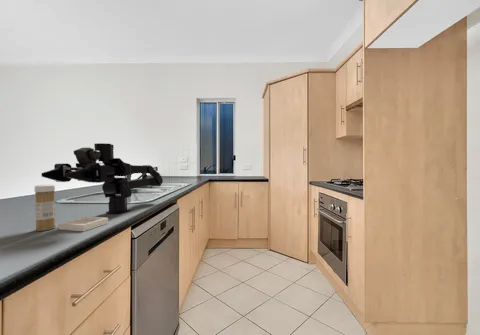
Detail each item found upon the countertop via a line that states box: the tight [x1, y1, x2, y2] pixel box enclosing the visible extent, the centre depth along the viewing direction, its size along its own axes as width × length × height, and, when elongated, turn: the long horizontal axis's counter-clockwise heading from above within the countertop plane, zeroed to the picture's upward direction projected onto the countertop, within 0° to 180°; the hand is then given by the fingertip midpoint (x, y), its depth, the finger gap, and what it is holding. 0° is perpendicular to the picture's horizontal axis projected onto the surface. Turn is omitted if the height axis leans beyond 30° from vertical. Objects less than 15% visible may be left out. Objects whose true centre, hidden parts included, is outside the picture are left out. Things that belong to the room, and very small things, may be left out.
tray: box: [58, 216, 109, 232], centre depth 70 cm, size 9×9×2 cm
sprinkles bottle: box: [34, 184, 56, 232], centre depth 66 cm, size 5×5×14 cm
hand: (53, 175), depth 65 cm, fingers open, 9 cm apart
